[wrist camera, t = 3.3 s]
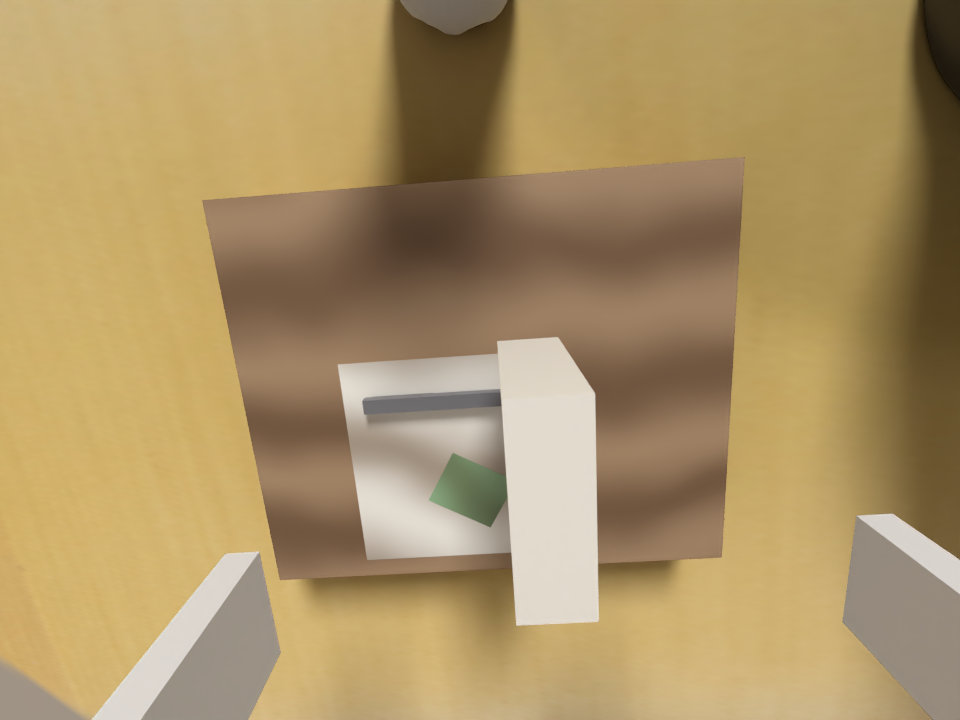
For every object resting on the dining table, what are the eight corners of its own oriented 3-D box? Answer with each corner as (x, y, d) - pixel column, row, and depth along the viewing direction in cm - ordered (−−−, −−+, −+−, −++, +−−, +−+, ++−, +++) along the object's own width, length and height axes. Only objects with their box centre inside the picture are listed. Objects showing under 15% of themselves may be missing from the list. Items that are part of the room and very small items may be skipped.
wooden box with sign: (253, 206, 27) (201, 200, 22) (697, 170, 26) (745, 156, 21) (311, 527, 32) (279, 580, 27) (685, 506, 31) (722, 558, 26)
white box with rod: (357, 333, 23) (249, 415, 13) (546, 320, 23) (595, 393, 13) (375, 467, 25) (294, 636, 15) (552, 457, 25) (598, 621, 14)
